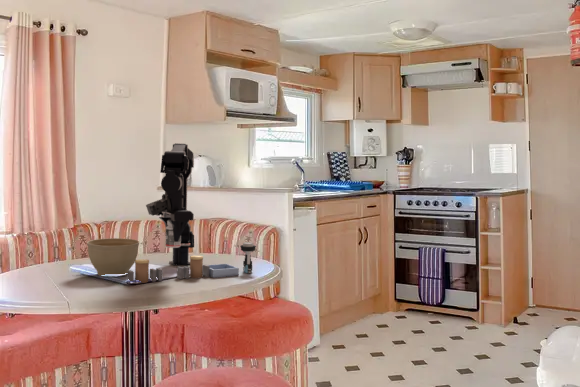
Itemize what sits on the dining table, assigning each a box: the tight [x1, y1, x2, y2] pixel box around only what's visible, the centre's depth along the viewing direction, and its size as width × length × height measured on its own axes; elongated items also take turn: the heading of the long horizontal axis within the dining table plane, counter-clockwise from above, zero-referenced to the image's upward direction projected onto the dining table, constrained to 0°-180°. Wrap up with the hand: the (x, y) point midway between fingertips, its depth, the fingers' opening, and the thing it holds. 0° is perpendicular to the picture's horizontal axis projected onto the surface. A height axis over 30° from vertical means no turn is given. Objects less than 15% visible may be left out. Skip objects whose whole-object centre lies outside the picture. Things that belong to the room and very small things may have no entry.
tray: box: [202, 263, 240, 279], centre depth 192 cm, size 9×9×2 cm
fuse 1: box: [134, 258, 150, 284], centre depth 177 cm, size 4×4×7 cm
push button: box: [240, 241, 257, 274], centre depth 197 cm, size 7×5×10 cm
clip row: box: [127, 264, 210, 282], centre depth 182 cm, size 3×26×4 cm, turn 122°
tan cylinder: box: [189, 255, 204, 279], centre depth 187 cm, size 4×4×7 cm
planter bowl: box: [86, 237, 140, 277], centre depth 186 cm, size 16×16×11 cm
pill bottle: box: [165, 221, 181, 249], centre depth 182 cm, size 5×5×8 cm
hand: (173, 240), depth 182 cm, fingers closed on pill bottle, 5 cm apart
